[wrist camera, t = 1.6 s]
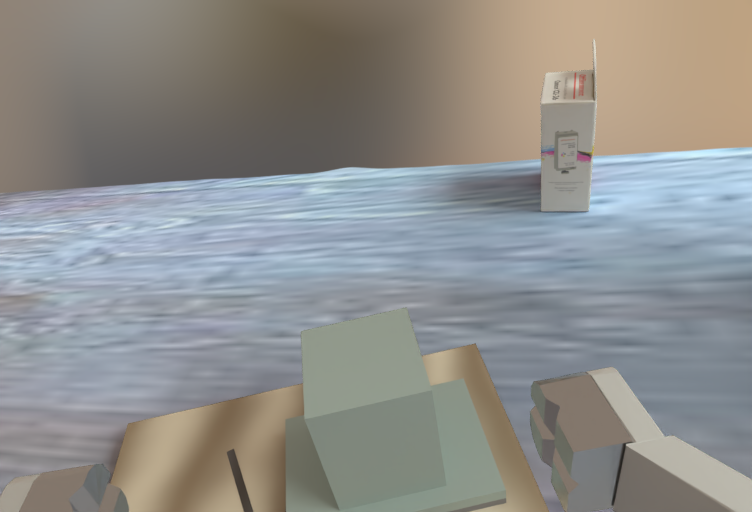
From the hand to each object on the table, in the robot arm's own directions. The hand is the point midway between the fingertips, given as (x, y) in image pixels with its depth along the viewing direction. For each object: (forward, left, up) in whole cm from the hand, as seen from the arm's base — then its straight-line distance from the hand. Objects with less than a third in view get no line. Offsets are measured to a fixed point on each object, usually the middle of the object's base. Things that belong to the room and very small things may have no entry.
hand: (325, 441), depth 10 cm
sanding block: (0, -13, -20) cm, 24 cm away
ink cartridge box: (-24, -41, -22) cm, 52 cm away
